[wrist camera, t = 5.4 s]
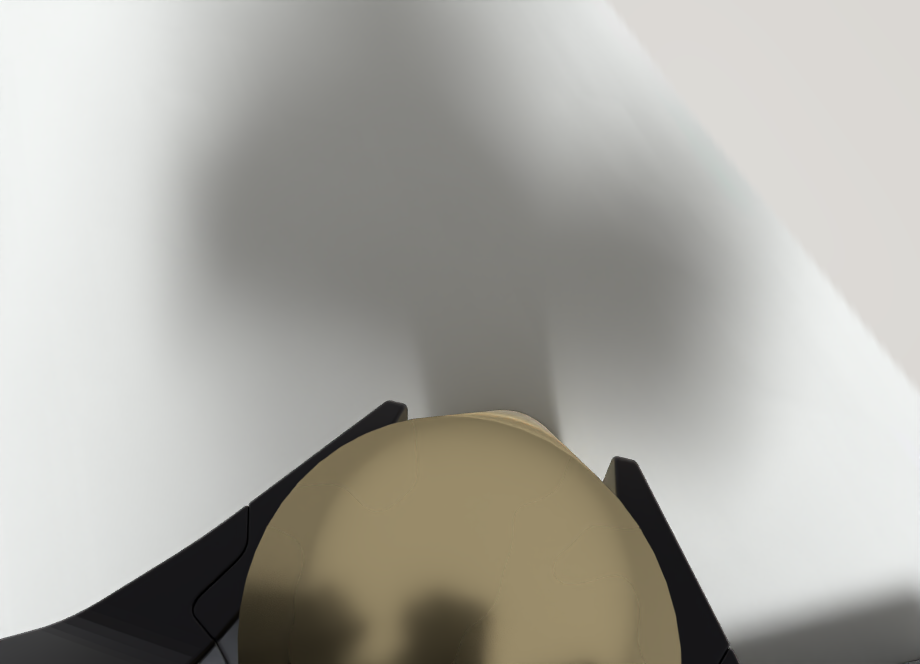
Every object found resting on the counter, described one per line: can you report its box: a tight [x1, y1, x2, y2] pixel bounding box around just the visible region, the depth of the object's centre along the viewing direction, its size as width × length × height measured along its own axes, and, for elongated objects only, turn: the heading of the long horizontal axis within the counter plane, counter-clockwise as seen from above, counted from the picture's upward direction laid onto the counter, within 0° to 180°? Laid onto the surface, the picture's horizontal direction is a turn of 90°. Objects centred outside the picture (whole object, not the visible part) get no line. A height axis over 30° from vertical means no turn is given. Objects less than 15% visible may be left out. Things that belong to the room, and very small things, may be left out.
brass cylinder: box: [238, 410, 681, 664], centre depth 10 cm, size 4×4×12 cm
